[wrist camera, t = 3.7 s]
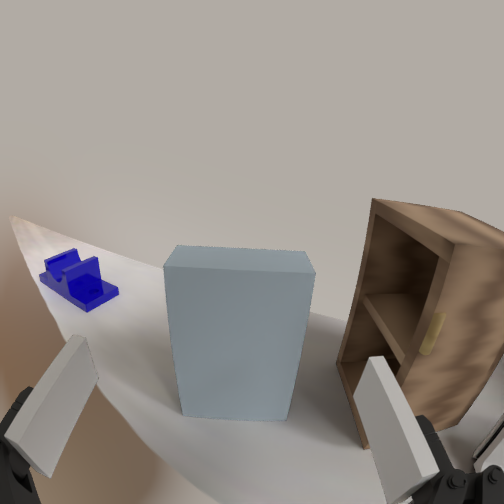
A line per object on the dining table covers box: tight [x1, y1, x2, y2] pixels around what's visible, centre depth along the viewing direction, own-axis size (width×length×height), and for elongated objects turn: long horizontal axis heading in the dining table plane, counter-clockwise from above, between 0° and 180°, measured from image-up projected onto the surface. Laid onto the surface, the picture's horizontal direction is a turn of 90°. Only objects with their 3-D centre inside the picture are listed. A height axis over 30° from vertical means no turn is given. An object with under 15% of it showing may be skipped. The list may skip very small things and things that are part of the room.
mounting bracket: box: [39, 248, 119, 312], centre depth 44 cm, size 18×7×6 cm, turn 65°
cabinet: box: [336, 198, 504, 449], centre depth 23 cm, size 12×14×20 cm
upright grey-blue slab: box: [163, 245, 316, 421], centre depth 24 cm, size 10×5×16 cm, turn 90°
